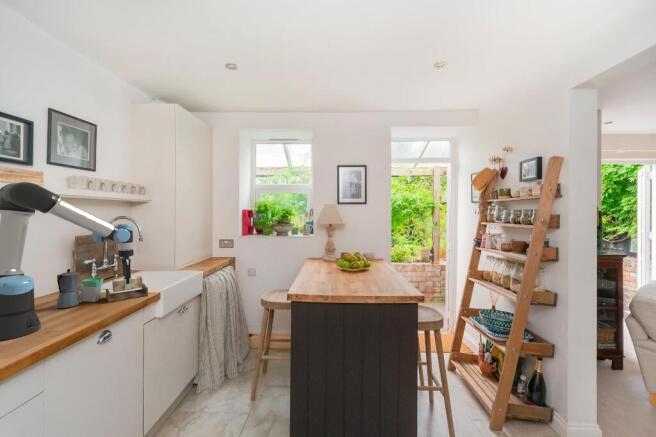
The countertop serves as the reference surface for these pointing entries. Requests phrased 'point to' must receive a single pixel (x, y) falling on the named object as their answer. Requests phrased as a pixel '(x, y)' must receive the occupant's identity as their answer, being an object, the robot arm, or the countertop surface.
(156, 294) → the countertop surface
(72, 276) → the moka pot
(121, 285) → the tan rectangular block
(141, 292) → the cradle
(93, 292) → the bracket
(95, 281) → the green lidded container
